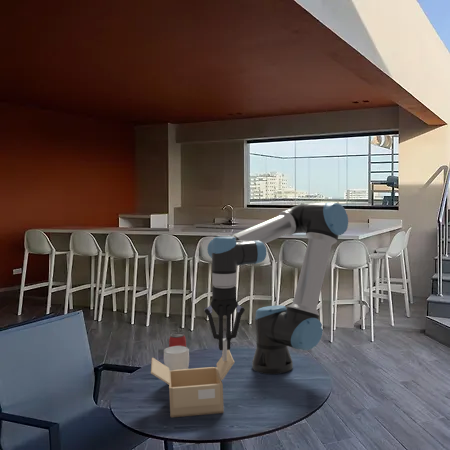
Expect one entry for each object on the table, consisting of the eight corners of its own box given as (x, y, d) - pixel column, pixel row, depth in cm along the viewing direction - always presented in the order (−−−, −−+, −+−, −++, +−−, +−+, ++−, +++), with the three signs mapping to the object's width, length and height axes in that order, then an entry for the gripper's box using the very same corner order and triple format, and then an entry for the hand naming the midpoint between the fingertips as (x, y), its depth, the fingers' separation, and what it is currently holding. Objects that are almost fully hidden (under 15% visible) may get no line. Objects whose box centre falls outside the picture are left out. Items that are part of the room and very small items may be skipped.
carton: (217, 393, 169) (217, 366, 168) (223, 413, 153) (222, 384, 152) (169, 397, 167) (168, 370, 166) (170, 418, 151) (169, 388, 150)
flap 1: (169, 368, 165) (152, 357, 164) (169, 383, 152) (151, 371, 151) (168, 369, 165) (151, 358, 164) (168, 384, 152) (150, 373, 151)
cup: (186, 388, 174) (184, 354, 173) (161, 387, 176) (159, 353, 175) (193, 378, 183) (191, 346, 182) (169, 377, 184) (167, 345, 184)
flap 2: (217, 365, 167) (228, 348, 167) (222, 380, 154) (234, 362, 154) (216, 364, 167) (227, 347, 167) (221, 379, 153) (233, 361, 154)
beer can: (172, 361, 202) (171, 332, 201) (188, 362, 201) (187, 332, 200) (168, 367, 195) (166, 337, 194) (184, 367, 194) (183, 337, 194)
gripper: (242, 283, 163) (242, 355, 165) (202, 284, 162) (203, 356, 163) (246, 287, 156) (246, 362, 157) (204, 288, 154) (205, 364, 156)
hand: (224, 359), depth 160 cm, fingers closed
